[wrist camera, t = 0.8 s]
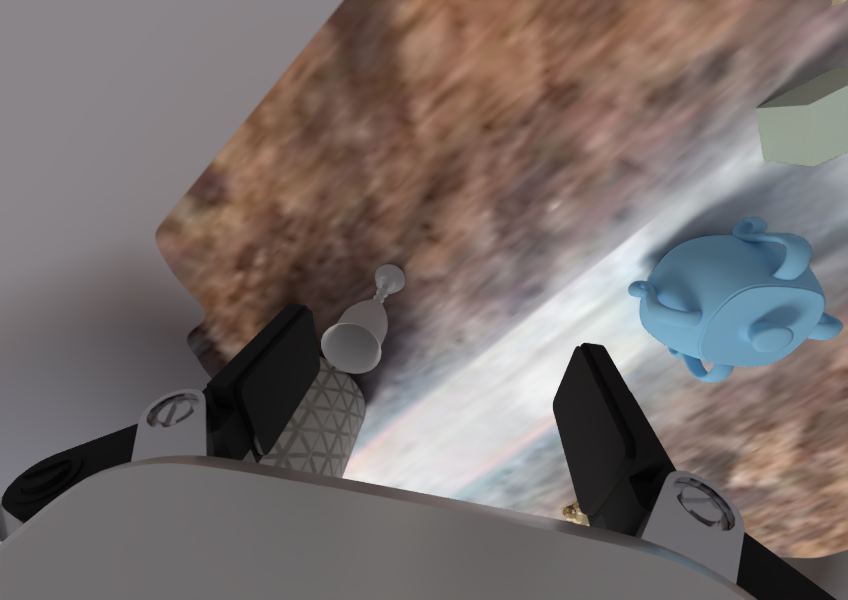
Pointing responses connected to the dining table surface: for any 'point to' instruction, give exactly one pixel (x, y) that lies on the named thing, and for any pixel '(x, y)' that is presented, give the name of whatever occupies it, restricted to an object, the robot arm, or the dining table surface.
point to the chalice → (362, 327)
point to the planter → (322, 426)
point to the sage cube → (807, 121)
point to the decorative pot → (735, 300)
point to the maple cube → (837, 1)
